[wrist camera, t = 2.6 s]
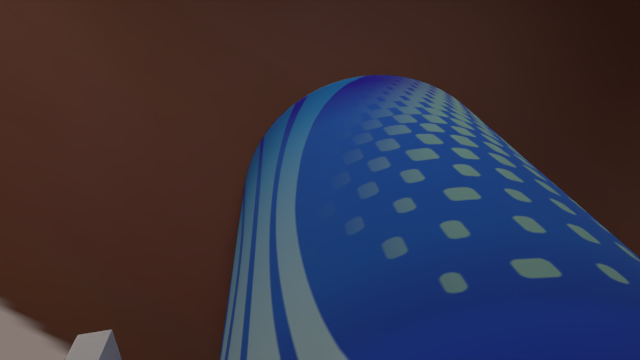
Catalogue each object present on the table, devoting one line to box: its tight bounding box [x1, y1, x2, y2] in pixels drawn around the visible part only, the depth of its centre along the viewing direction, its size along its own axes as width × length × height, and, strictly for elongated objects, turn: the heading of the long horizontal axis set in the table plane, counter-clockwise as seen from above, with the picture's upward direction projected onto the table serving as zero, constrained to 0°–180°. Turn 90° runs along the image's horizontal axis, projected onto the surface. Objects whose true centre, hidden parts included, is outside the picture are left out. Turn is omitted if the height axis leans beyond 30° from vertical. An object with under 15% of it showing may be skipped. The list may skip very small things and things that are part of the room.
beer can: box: [220, 75, 640, 360], centre depth 13 cm, size 8×8×16 cm
